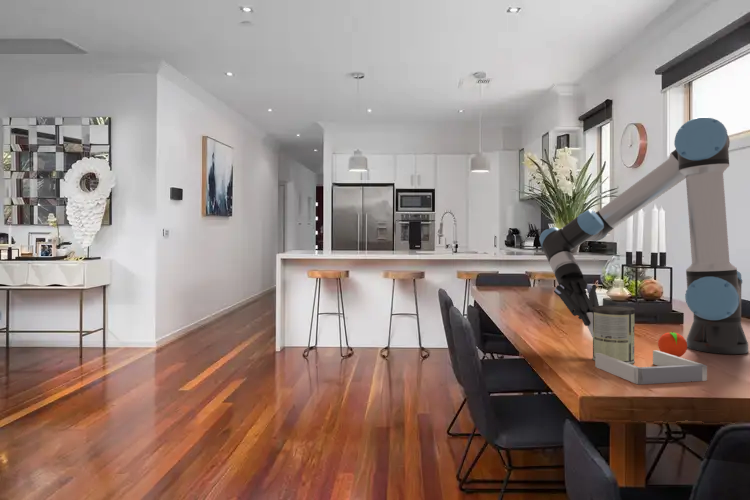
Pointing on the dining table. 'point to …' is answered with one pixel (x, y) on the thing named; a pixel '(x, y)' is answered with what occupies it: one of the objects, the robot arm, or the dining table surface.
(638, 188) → the robot arm
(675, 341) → the tomato
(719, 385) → the dining table surface
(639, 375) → the bay
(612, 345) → the coffee can
